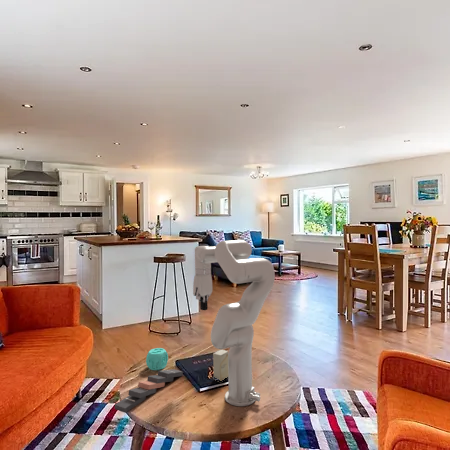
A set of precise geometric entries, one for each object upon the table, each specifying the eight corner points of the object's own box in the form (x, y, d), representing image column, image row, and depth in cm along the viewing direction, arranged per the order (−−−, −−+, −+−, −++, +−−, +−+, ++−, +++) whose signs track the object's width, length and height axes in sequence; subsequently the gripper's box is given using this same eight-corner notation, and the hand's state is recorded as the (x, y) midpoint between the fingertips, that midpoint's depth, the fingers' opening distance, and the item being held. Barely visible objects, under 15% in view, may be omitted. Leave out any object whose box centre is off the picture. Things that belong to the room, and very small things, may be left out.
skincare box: (220, 382, 152) (220, 355, 152) (213, 380, 155) (212, 353, 155) (229, 377, 157) (228, 350, 157) (221, 374, 160) (221, 348, 160)
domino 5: (173, 369, 163) (158, 370, 154) (182, 371, 160) (167, 373, 151) (172, 373, 162) (157, 375, 153) (182, 375, 159) (167, 378, 150)
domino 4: (164, 374, 158) (148, 375, 149) (173, 376, 155) (157, 378, 146) (163, 378, 157) (147, 380, 148) (172, 381, 154) (157, 383, 145)
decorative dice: (146, 369, 167) (145, 353, 167) (154, 362, 175) (153, 347, 174) (160, 371, 165) (160, 355, 164) (168, 364, 172) (168, 348, 172)
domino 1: (135, 391, 142) (114, 404, 133) (145, 395, 140) (125, 408, 130) (135, 396, 142) (114, 409, 133) (145, 399, 140) (125, 413, 130)
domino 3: (154, 379, 153) (138, 382, 143) (165, 382, 150) (149, 384, 141) (154, 383, 152) (137, 386, 143) (164, 386, 150) (148, 389, 140)
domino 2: (145, 385, 147) (129, 390, 138) (156, 388, 145) (140, 393, 135) (145, 389, 147) (128, 394, 137) (155, 392, 145) (139, 398, 135)
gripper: (205, 269, 173) (206, 305, 173) (187, 273, 160) (187, 312, 161) (218, 270, 169) (219, 307, 169) (199, 274, 156) (200, 314, 157)
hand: (203, 309), depth 165 cm, fingers closed
